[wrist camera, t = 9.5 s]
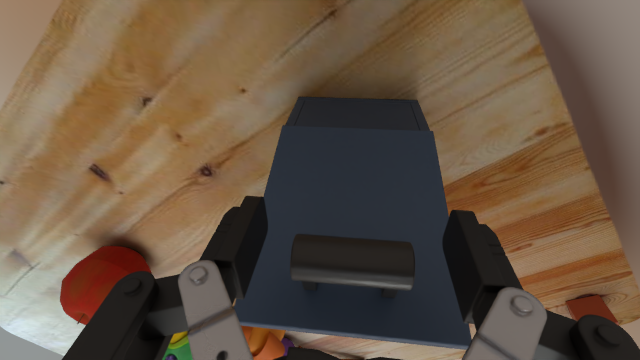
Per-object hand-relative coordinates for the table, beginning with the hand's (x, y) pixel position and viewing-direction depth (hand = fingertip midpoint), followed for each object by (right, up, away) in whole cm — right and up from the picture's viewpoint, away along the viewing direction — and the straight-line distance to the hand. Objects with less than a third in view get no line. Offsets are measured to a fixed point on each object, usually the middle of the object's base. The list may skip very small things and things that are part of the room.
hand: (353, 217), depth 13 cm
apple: (-32, -11, +36) cm, 49 cm away
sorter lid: (+1, 0, +6) cm, 6 cm away
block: (+37, -17, +30) cm, 50 cm away
